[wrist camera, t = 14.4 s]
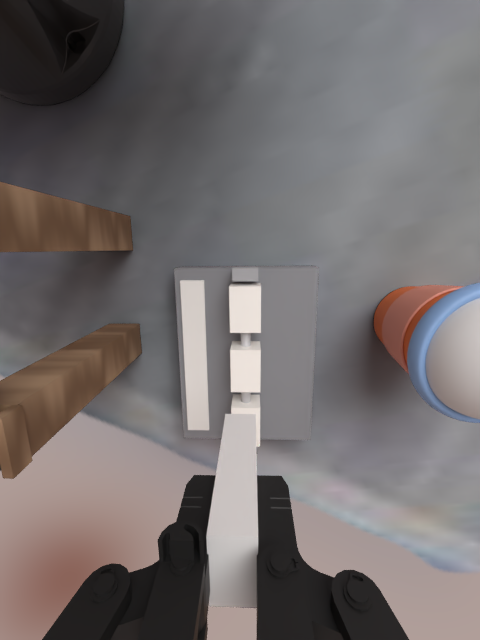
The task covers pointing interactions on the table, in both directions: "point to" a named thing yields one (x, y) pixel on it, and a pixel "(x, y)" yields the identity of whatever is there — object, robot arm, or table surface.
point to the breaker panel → (275, 340)
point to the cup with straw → (436, 344)
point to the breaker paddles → (245, 349)
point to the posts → (78, 357)
